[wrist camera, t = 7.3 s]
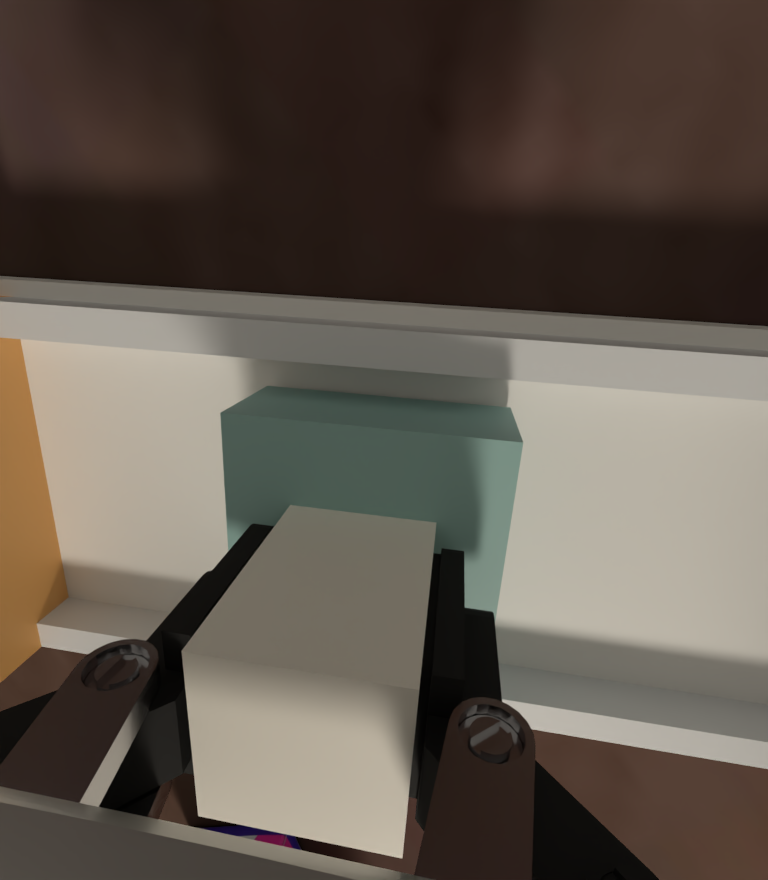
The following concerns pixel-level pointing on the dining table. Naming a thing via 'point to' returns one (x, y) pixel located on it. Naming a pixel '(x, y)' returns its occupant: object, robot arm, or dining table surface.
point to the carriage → (338, 602)
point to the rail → (427, 378)
